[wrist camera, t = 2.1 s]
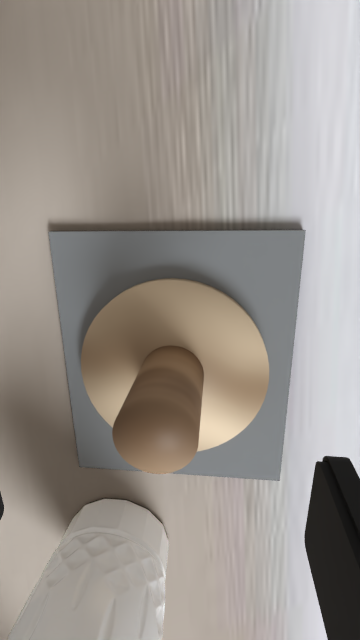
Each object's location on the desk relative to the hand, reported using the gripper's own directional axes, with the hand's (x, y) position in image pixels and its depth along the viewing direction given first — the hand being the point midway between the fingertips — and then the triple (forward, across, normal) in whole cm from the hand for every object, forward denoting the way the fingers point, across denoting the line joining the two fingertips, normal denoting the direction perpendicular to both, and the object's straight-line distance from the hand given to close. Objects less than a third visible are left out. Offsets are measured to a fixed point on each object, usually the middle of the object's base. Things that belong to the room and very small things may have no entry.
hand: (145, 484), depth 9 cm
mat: (+9, 0, +1) cm, 9 cm away
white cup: (+9, +4, +14) cm, 17 cm away
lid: (+8, 0, +1) cm, 9 cm away
